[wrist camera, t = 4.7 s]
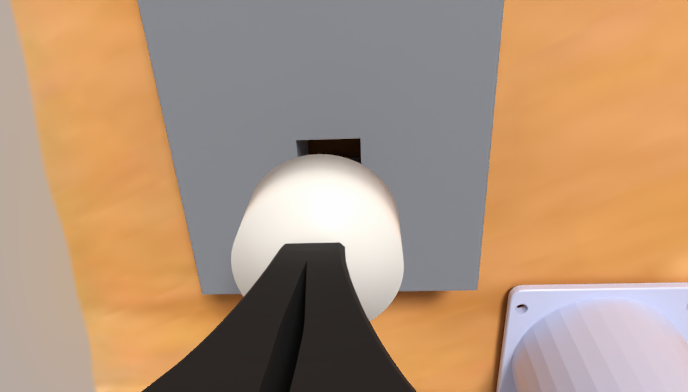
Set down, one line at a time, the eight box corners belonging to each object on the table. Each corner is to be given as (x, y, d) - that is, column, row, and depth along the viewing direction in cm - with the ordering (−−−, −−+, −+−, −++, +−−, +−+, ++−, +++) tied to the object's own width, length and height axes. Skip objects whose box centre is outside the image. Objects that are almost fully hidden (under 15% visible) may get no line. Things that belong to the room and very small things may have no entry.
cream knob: (393, 225, 18) (403, 332, 13) (273, 228, 18) (243, 334, 13) (393, 109, 16) (404, 190, 11) (258, 114, 16) (218, 195, 12)
